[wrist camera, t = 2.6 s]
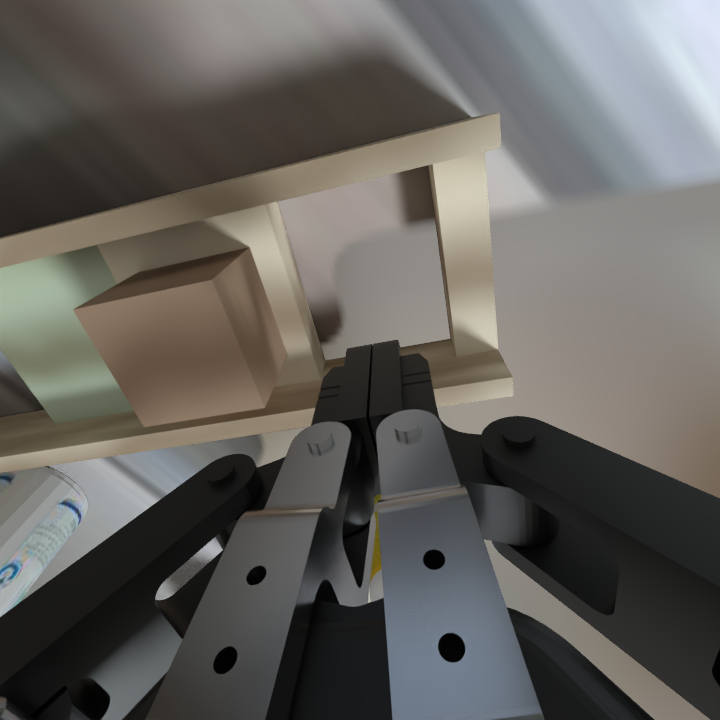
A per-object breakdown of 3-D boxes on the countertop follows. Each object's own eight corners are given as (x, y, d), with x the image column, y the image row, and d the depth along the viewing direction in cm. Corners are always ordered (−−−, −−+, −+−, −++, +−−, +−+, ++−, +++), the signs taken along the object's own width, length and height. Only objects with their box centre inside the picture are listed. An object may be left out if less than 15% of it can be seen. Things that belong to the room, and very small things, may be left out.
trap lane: (-169, 280, 22) (-291, 312, 18) (472, 117, 17) (499, 112, 13) (-31, 436, 27) (-102, 487, 23) (489, 348, 22) (513, 395, 18)
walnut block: (138, 272, 19) (72, 309, 15) (249, 247, 18) (212, 279, 14) (188, 372, 21) (144, 427, 17) (287, 354, 20) (264, 407, 16)
